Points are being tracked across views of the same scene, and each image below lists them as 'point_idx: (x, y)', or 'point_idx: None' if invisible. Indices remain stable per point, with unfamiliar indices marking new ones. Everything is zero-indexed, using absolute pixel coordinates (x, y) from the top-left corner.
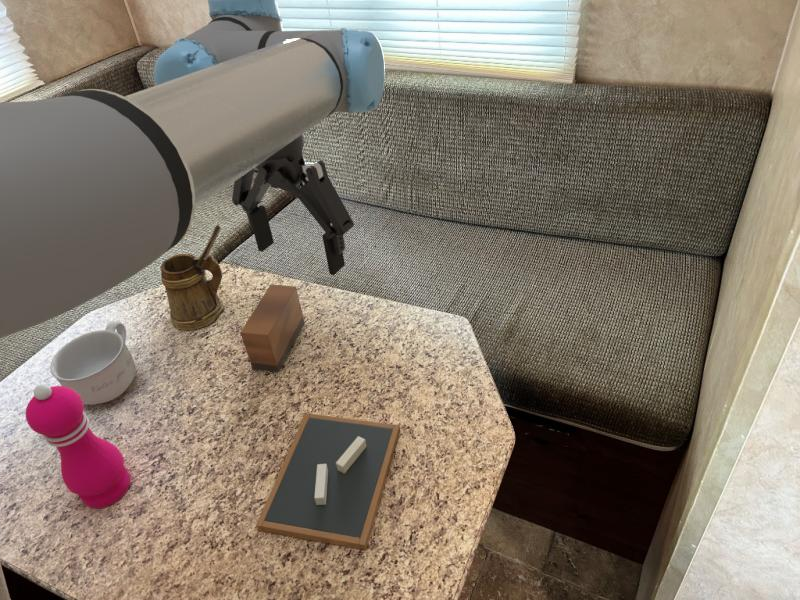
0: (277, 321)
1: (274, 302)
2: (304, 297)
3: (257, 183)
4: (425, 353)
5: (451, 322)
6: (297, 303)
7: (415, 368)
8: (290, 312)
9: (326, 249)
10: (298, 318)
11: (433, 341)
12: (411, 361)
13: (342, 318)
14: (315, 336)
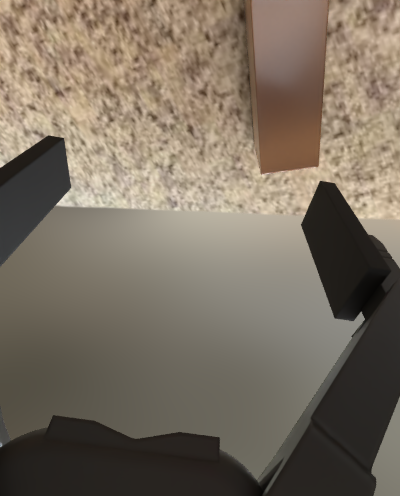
0: (253, 57)
1: (285, 114)
2: (279, 195)
3: (330, 472)
4: (44, 135)
5: None
6: (257, 151)
7: (35, 99)
8: (255, 119)
9: (5, 174)
10: (254, 132)
11: None
12: (50, 112)
13: (199, 169)
14: (221, 117)
